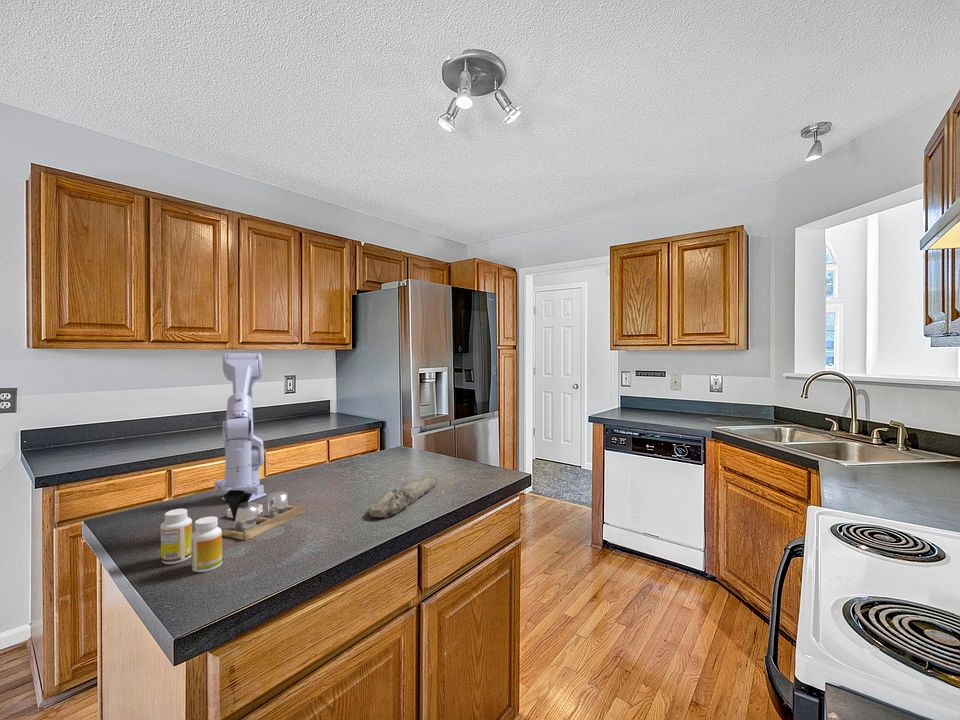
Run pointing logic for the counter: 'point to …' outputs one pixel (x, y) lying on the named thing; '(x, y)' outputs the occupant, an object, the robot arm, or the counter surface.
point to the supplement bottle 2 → (206, 545)
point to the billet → (246, 516)
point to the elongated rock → (402, 496)
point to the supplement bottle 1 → (176, 537)
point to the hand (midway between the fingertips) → (239, 520)
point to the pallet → (265, 523)
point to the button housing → (229, 514)
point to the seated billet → (277, 503)
